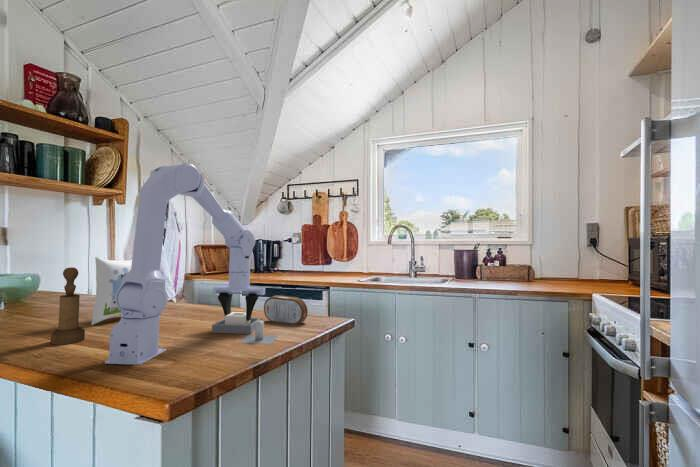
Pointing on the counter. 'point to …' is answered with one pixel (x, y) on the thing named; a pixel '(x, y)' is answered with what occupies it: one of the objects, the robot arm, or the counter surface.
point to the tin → (285, 309)
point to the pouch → (108, 287)
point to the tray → (235, 327)
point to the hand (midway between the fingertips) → (238, 319)
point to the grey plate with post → (259, 335)
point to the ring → (236, 319)
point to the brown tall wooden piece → (68, 313)
